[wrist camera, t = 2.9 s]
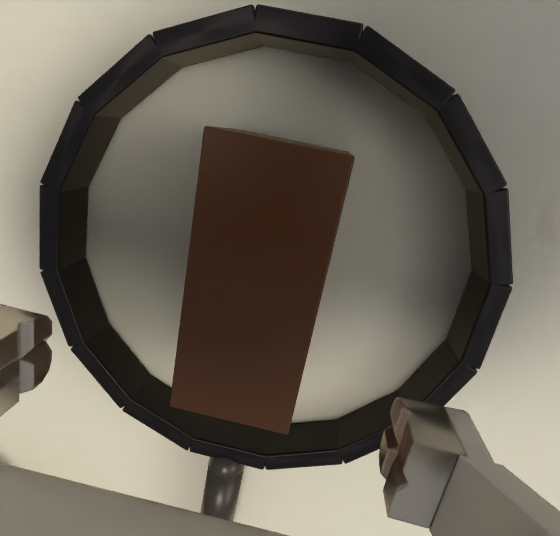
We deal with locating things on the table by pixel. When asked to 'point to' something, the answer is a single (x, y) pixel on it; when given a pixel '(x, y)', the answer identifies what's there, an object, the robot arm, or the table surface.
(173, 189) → the table surface
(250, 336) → the brown rectangular block
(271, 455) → the pan
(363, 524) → the table surface
